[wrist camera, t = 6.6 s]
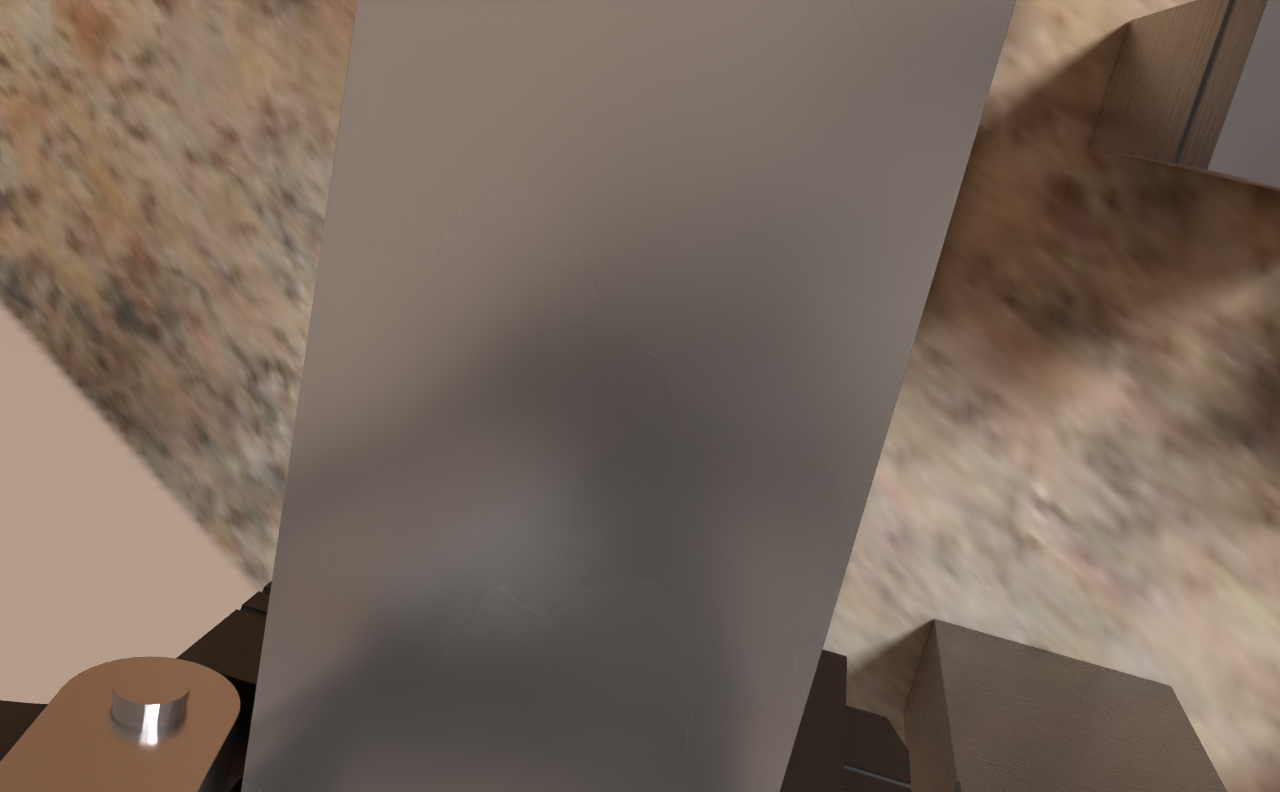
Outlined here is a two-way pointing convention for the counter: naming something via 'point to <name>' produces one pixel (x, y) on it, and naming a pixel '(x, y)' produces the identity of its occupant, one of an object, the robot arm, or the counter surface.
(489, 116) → the rail
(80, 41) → the counter surface
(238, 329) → the counter surface
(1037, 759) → the post
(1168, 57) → the post
